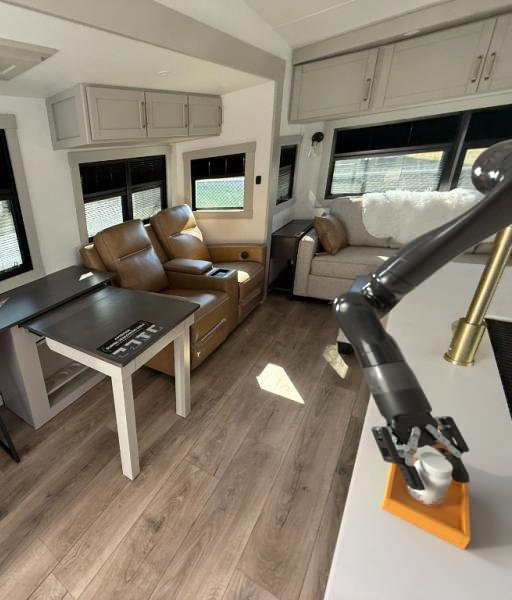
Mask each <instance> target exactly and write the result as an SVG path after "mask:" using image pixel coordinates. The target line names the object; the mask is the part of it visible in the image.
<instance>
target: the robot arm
mask: <svg viewBox="0 0 512 600" xmlns="http://www.w3.org/2000/svg"><path fill="white" fill-rule="evenodd" d="M470 181H471V184H472V185H473V187H474V188H475V190H476V191H477V192H479V193H480V194H481V195H483V196H484V197H482V199H480V201H478V202H477V203H476V204H474V205H473V206H472V207H470V208H469V209H468V210H466V211H464V212H463V213H462V214H460V215H458V216H457V217H455V218H453V219H451V220H449V221H447V222H445V223H443V224H442V225H439V226H438V227H435V228H433V229H431V230H429V231H427V232H425V233H423V234H421V235H419V236H417V237H415V238H413V239H411V240H410V241H408V242H407V243H405V244H404V245H402V246H401V247H400V248H398V249H397V250H396V251H395V252H394V253H393V254H392V255H390V257H388V258H387V259H385V260H384V261H383V262H382V263H381V264H379V266H378V267H376V268H375V269H374V271H373V272H372V273H371V276H370V277H371V278H370V279H371V280H370V281H369V282H368V283H367V284H365V286H363V288H361V290H359V291H356V290H350V291H344V292H342V293H340V294H339V295H337V296H336V297H335V298H334V300H333V302H332V306H331V307H332V308H331V309H332V314H333V318H334V319H335V322H336V324H337V325H338V327H339V329H340V331H341V332H342V333H343V335H344V336H345V338H346V339H347V341H348V342H349V343H350V345H351V346H352V349H353V351H354V353H355V356H356V359H357V360H358V363H359V365H360V367H361V369H362V372H363V377H364V379H365V382H366V385H367V387H368V389H369V391H370V393H371V397H372V398H373V400H374V402H375V405H376V407H377V410H378V412H379V414H380V416H381V417H383V418H384V420H385V422H386V425H385V426H372V427H371V428H370V429H371V433H372V435H373V438H374V441H375V442H376V445H377V448H378V449H379V452H380V455H381V457H382V459H383V461H384V462H386V463H390V464H391V463H394V464H397V465H398V466H399V468H400V470H401V473H402V475H403V477H404V480H405V482H406V483H407V485H408V486H410V487H411V488H412V489H414V490H419V491H421V490H425V487H424V485H423V483H422V480H421V478H420V476H419V474H418V472H417V469H416V467H415V466H412V465H413V458H415V455H416V454H417V452H418V449H421V448H424V447H427V446H429V447H430V448H433V449H434V450H436V451H437V452H438V453H439V454H440V455H442V457H444V458H445V459H446V460H448V461H449V462H450V463H451V465H452V467H453V470H452V473H451V476H452V478H453V480H454V481H456V482H461V483H468V482H469V483H470V482H471V481H470V474H469V472H468V470H467V468H466V466H465V464H464V462H463V460H462V456H463V454H464V453H469V452H470V447H469V445H468V444H467V442H466V441H465V439H464V437H463V435H462V433H461V431H460V429H459V428H458V426H457V423H456V422H455V420H454V417H452V416H450V415H448V416H446V415H445V416H443V415H441V416H435V417H434V416H433V415H432V414H431V413H432V411H433V407H432V405H431V404H430V402H429V399H428V397H427V396H426V394H425V391H424V389H423V388H422V385H421V384H420V382H419V379H418V377H417V376H416V374H415V372H414V371H413V369H412V367H411V366H410V365H409V363H408V362H407V360H406V357H405V356H404V354H403V352H402V350H401V347H400V346H399V344H398V342H397V340H396V339H395V338H394V337H393V336H392V335H391V334H390V333H388V331H387V330H386V328H385V326H384V324H383V323H382V321H381V320H382V319H383V318H385V317H386V316H387V315H388V314H389V313H390V312H391V311H392V310H393V309H394V308H395V307H396V306H397V305H398V304H399V303H400V302H401V301H402V300H403V299H404V297H406V296H407V295H408V294H409V293H412V292H413V291H414V290H415V289H416V288H418V287H419V286H420V285H422V284H423V283H424V282H426V281H427V280H428V279H429V278H431V277H432V276H434V275H435V274H436V273H437V272H439V271H440V270H442V269H443V268H444V267H445V266H447V265H448V264H450V263H451V262H452V261H454V260H455V259H456V258H458V257H460V256H461V255H463V254H464V253H466V252H467V251H470V250H471V249H472V248H474V247H476V246H477V245H480V244H481V243H483V242H484V241H486V240H488V239H489V238H491V237H493V236H494V235H496V234H498V233H499V232H501V231H503V230H504V229H505V230H506V229H507V228H508V227H510V226H511V225H512V139H507V140H503V141H500V142H497V143H496V144H493V145H491V146H490V147H487V148H486V149H485V150H483V151H482V152H481V153H480V154H479V155H478V156H477V157H476V159H474V162H473V163H472V167H471V169H470ZM438 430H439V431H438ZM393 437H394V440H393Z"/></svg>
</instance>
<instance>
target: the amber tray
mask: <svg viewBox="0 0 512 600" xmlns="http://www.w3.org/2000/svg"><path fill="white" fill-rule="evenodd" d="M418 460H419V458H416V457H414V458H413V465H412V466H414V464H415V462H416V461H418ZM451 477H452V476H451ZM406 486H407V483H406V482H405V480H404V477H403V475H402V473H401V470H400V468H399V466H398V465H397V464H394V463H390V465H389V470H388V475H387V481H386V485H385V489H384V495H383V500H382V504H381V509H383V510H385V511H386V512H389V513H390V514H392V515H394V516H397V517H398V518H400V519H403V521H404V520H405V521H406V522H408V523H410V524H413V525H414V526H416V527H418V528H420V529H422V530H424V531H425V532H428V533H430V534H432V535H434V536H436V537H438V538H440V539H441V540H444V541H446V542H448V543H450V544H452V545H454V546H456V547H457V548H460V549H462V550H463V551H464V550H466V548H467V546H468V544H469V543H470V541H471V517H470V514H471V513H470V482H468V483H461V482H456V481H454V480H453V478H452V481H451V484H450V486H449V489H448V491H447V493H446V496H445V498H444V500H443V502H442V504H441V505H440V506H438V507H431V506H427V505H424V504H422V503H420V502H418V501H417V500H415V499H414V498H413V497H412V496H411V495H410V494H409V493H408V491H407V488H406Z"/></svg>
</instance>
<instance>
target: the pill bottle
mask: <svg viewBox="0 0 512 600" xmlns="http://www.w3.org/2000/svg"><path fill="white" fill-rule="evenodd" d="M445 458H446V457H444V456H443V455H442V456H441V454H440V455H439V454H437V453H433V452H428V451H427V452H425V451H424V452H423V453H421V454H420V456H419V458H418V461H416V462H415V464H414V466H415V467H416V469H417V472H418V474H419V476H420V478H421V480H422V483H423V485H424V487H425V490H421V491H419V490H414V489H412V488H411V487H410V486H408V485H407V486H406V488H407V491H408V493H409V494H410V495H411V496H412V497H413V498H414V499H415V500H417V501H418V502H420V503H422V504H424V505H427V506H431V507H438V506H440V505H441V504H442V502H443V500H444V498H445V496H446V493H447V491H448V489H449V486H450V484H451V481H452V477H451V473H452V470H453V467H452V465H451V463H450V462H449V461H448V460H446V459H445Z"/></svg>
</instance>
